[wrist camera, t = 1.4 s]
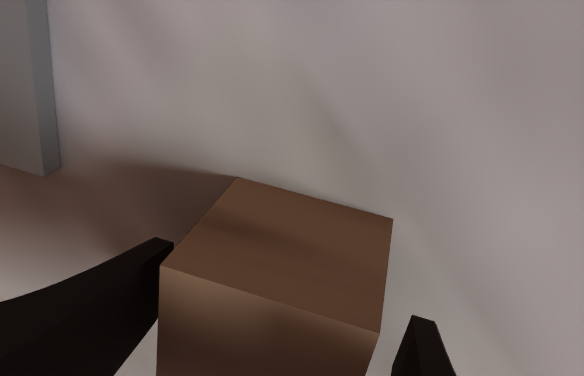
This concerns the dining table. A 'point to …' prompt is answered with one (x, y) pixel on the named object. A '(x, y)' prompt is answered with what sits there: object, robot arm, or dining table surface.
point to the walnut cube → (273, 288)
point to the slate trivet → (27, 89)
